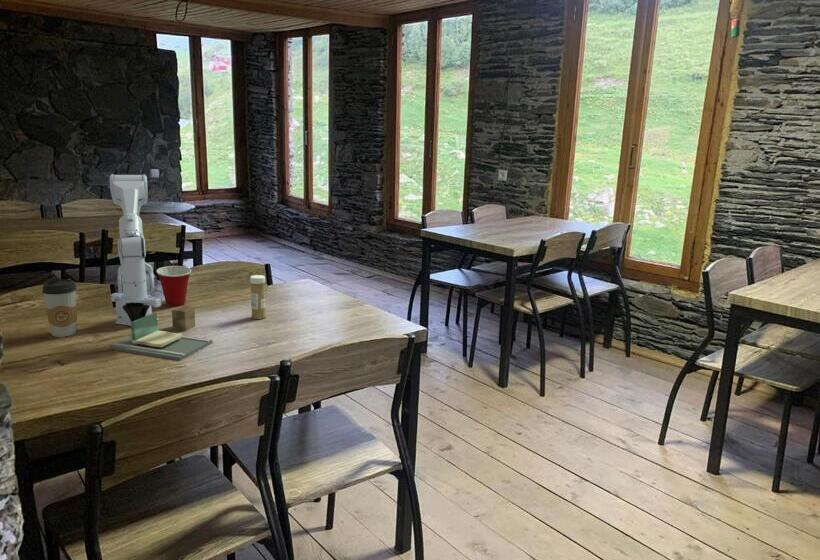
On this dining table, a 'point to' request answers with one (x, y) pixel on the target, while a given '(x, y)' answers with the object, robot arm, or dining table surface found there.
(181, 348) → the track board
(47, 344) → the dining table surface
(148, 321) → the sliding tray
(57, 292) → the coffee cup
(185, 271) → the plastic cup
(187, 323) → the walnut block
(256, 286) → the sprinkles bottle
